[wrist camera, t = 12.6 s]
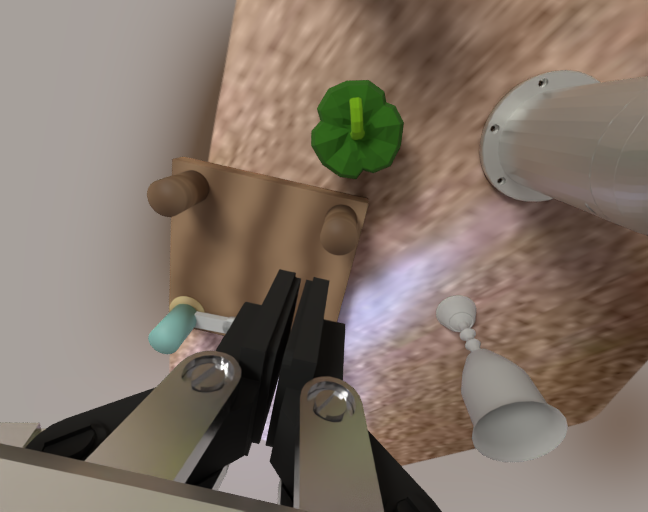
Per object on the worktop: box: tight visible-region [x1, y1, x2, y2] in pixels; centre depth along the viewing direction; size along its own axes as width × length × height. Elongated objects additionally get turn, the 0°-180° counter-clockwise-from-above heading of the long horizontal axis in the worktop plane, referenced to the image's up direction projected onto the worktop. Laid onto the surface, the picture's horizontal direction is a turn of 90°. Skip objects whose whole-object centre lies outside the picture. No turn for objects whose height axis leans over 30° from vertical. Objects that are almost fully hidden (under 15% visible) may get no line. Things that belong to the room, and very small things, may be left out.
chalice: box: [436, 295, 568, 462], centre depth 35 cm, size 7×7×18 cm
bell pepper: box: [311, 80, 404, 179], centre depth 31 cm, size 8×8×10 cm
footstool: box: [147, 157, 369, 336], centre depth 39 cm, size 22×22×8 cm
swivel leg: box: [148, 304, 235, 354], centre depth 41 cm, size 4×10×6 cm, turn 80°
